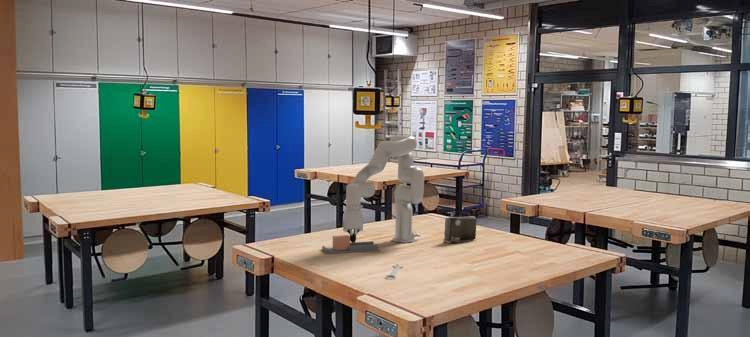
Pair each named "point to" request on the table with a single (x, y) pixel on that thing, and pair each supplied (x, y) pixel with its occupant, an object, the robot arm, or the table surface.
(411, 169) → the robot arm
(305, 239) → the table surface
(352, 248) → the chute
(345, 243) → the block
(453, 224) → the radio
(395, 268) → the wrench
